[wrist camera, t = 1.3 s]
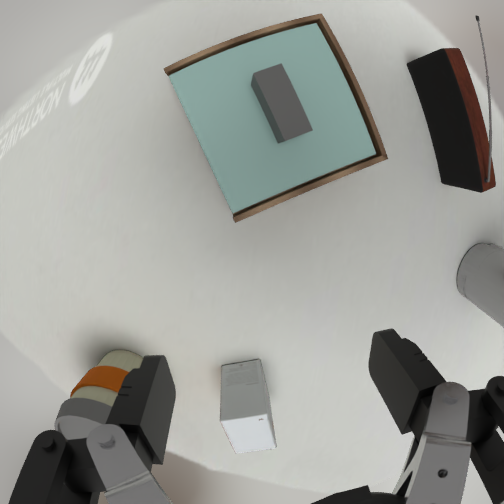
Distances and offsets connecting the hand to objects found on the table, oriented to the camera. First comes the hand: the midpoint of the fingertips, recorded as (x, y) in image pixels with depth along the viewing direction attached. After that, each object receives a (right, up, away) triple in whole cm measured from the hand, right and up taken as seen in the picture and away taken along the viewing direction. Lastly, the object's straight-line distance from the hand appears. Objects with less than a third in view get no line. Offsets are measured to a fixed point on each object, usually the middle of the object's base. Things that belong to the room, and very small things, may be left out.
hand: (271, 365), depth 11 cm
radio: (+23, +22, +20) cm, 37 cm away
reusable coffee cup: (-19, -14, +29) cm, 38 cm away
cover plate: (+1, +17, +15) cm, 23 cm away
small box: (-2, -15, +30) cm, 34 cm away
